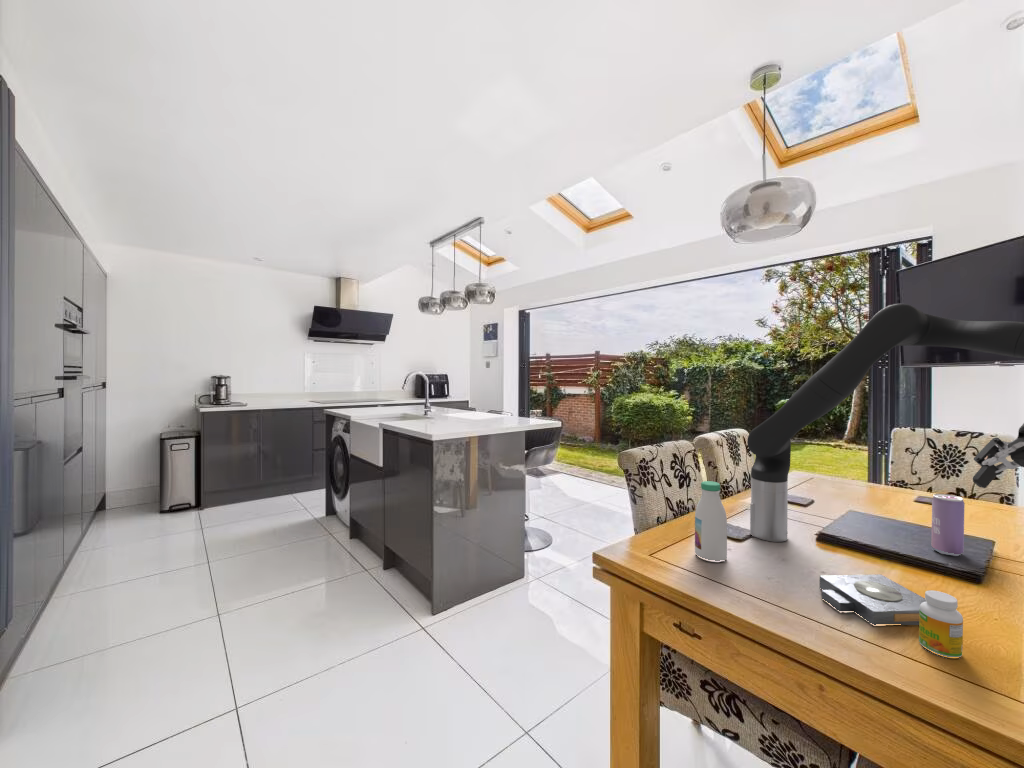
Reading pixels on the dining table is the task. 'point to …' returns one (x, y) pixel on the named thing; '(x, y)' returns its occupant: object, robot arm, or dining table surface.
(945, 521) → the beverage can
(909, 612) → the grey coaster with tab
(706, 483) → the milk bottle
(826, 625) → the dining table surface
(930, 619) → the supplement bottle
